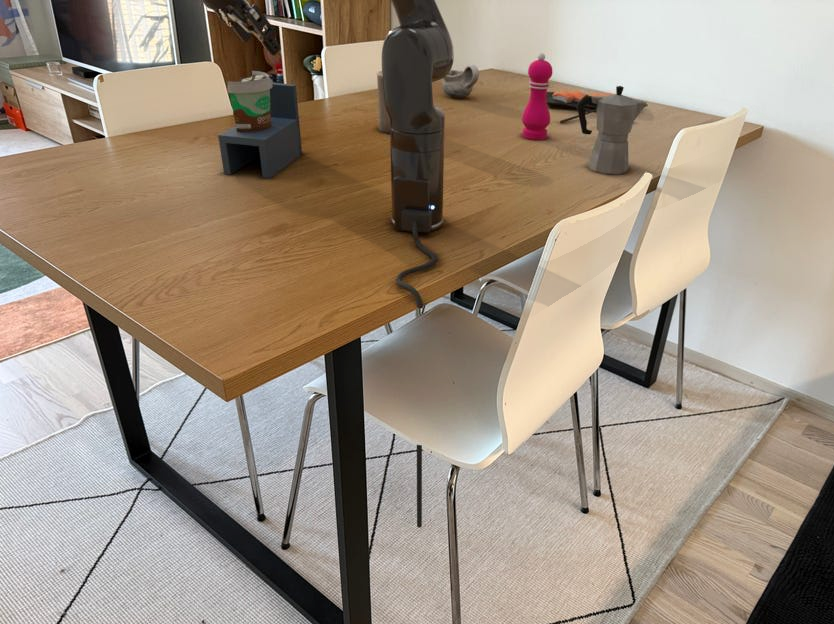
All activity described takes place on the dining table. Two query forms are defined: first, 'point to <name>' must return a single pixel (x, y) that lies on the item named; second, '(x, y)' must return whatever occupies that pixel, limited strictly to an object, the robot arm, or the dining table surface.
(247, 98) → the food container
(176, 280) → the dining table surface
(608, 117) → the coffeepot
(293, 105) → the blue toy chair
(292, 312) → the dining table surface
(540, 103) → the pepper mill
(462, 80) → the grey curved hollow piece
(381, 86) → the pillar candle
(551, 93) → the sushi plate
